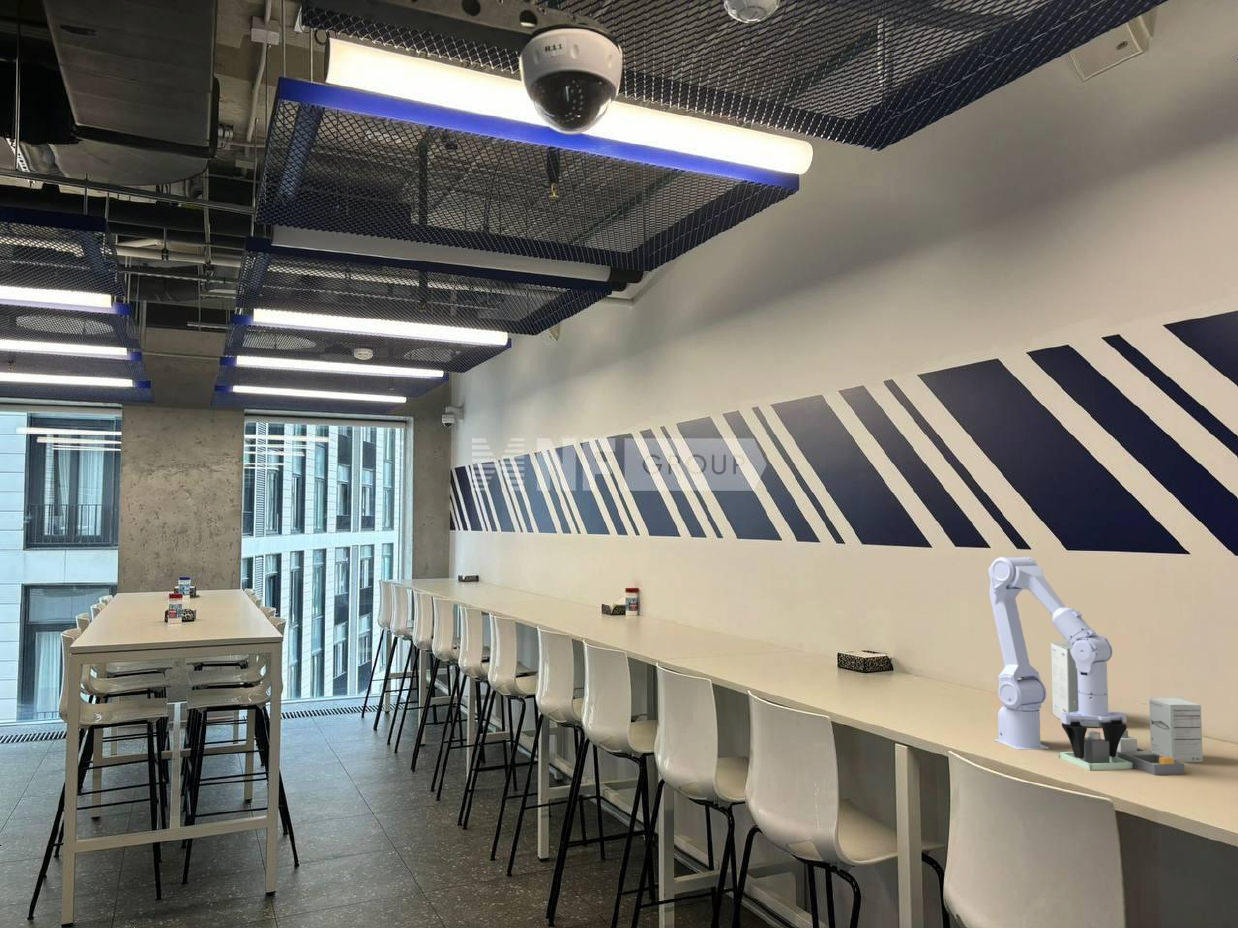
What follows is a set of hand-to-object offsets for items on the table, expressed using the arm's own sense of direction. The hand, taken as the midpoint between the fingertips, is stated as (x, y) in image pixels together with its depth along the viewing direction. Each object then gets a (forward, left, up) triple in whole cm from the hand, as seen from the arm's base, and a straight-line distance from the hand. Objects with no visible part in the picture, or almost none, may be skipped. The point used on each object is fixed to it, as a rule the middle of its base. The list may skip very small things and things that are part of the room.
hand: (1094, 756), depth 191 cm
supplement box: (-3, +22, -2) cm, 23 cm away
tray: (0, 0, -2) cm, 2 cm away
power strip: (+1, +9, -2) cm, 10 cm away
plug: (0, 0, -1) cm, 1 cm away
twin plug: (-4, +9, -2) cm, 10 cm away
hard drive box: (-40, +25, -2) cm, 48 cm away
